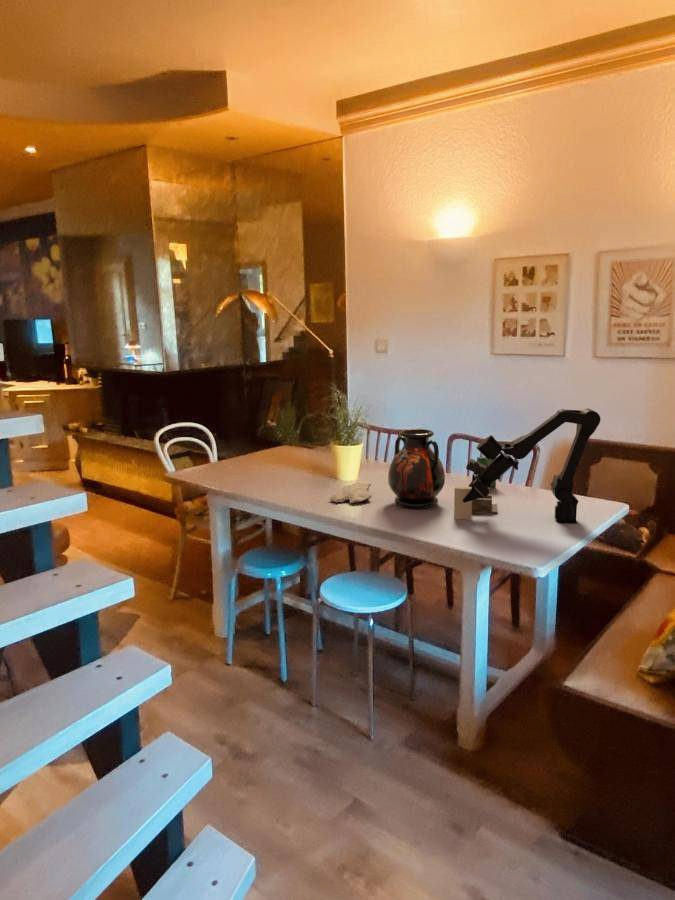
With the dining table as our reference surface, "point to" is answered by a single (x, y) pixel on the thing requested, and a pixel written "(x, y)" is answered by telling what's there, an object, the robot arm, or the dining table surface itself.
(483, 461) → the coffee box
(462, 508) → the tan rectangular block
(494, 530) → the dining table surface
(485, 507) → the slot rack
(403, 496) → the amphora vase
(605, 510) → the dining table surface
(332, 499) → the rock
